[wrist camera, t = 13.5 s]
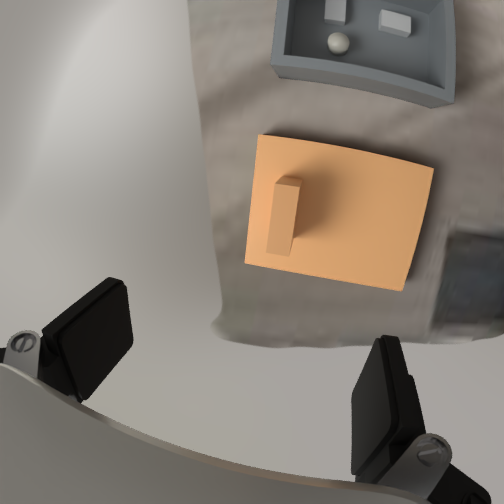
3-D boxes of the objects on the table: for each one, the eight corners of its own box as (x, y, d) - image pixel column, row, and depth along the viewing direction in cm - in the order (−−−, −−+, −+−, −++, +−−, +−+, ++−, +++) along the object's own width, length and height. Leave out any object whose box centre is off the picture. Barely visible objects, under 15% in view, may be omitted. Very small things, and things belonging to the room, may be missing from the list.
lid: (426, 166, 27) (454, 175, 20) (397, 281, 32) (412, 316, 25) (262, 134, 29) (246, 133, 23) (249, 255, 35) (232, 284, 28)
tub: (433, 13, 20) (452, -7, 14) (431, 108, 24) (453, 103, 19) (289, -16, 22) (282, -43, 17) (279, 77, 27) (270, 64, 21)
